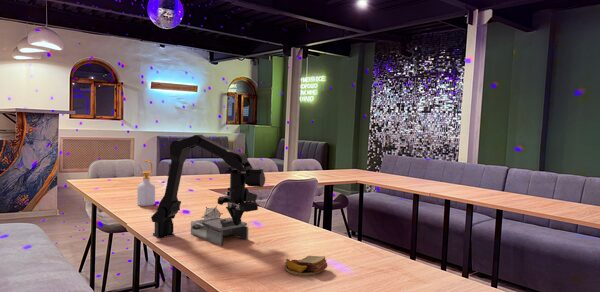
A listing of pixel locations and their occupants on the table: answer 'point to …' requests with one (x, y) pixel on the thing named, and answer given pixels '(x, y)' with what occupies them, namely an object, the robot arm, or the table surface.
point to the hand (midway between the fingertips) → (236, 225)
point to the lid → (223, 224)
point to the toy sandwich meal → (306, 265)
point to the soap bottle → (146, 190)
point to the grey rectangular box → (216, 231)
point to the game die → (211, 213)
